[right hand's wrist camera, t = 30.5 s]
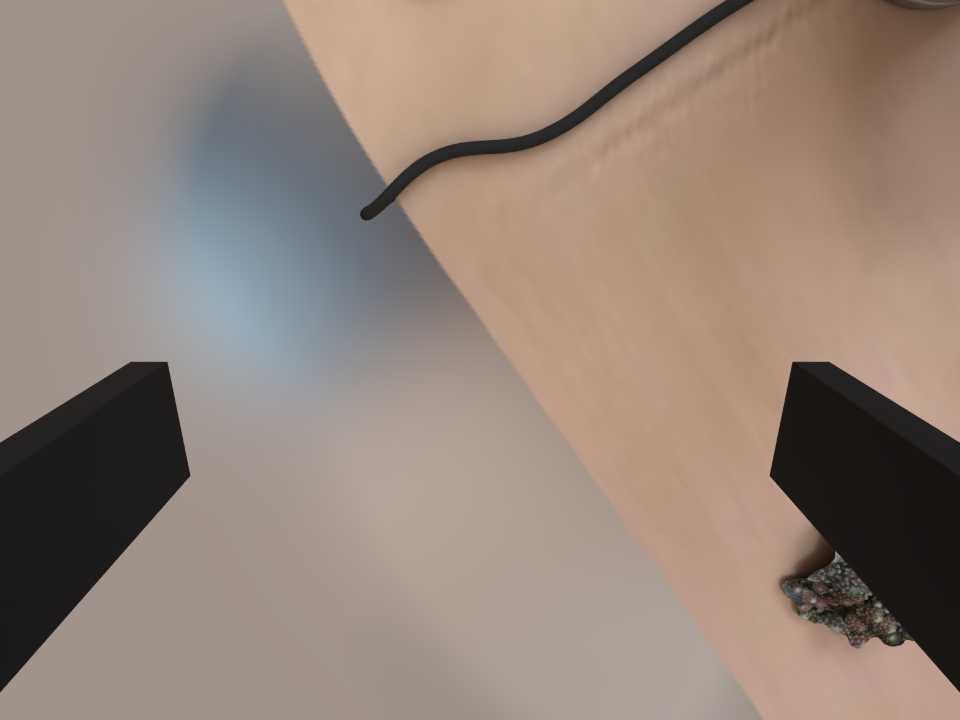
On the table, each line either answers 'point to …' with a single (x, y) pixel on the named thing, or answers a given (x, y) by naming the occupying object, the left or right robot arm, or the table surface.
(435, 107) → the table surface
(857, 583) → the coral
